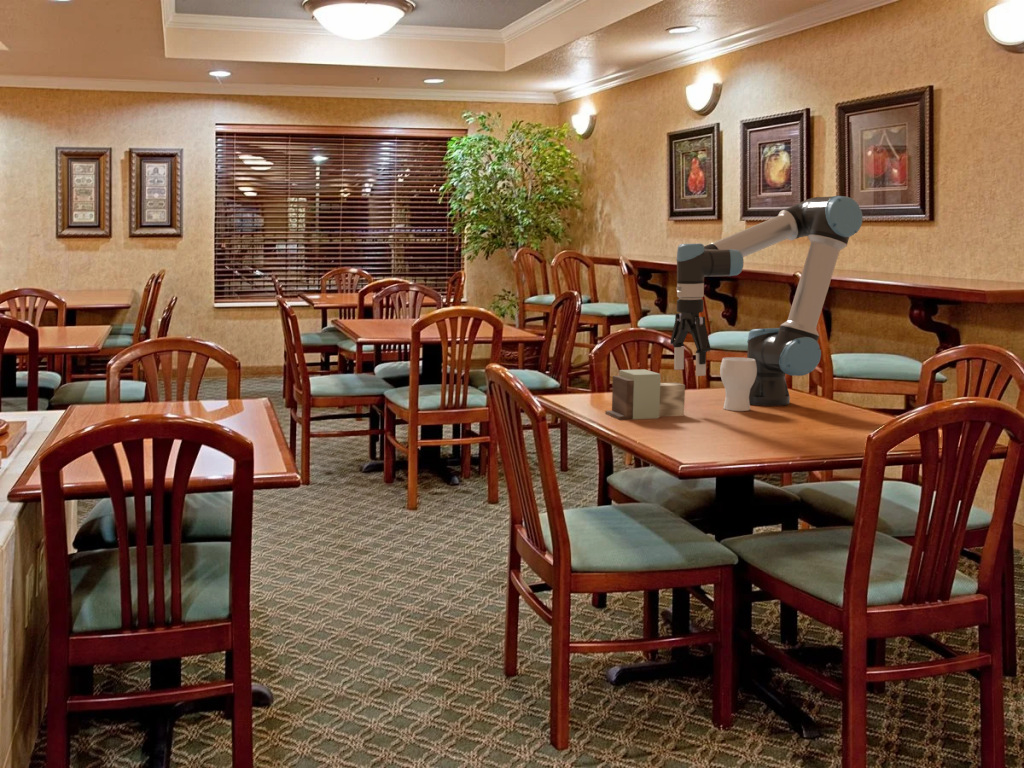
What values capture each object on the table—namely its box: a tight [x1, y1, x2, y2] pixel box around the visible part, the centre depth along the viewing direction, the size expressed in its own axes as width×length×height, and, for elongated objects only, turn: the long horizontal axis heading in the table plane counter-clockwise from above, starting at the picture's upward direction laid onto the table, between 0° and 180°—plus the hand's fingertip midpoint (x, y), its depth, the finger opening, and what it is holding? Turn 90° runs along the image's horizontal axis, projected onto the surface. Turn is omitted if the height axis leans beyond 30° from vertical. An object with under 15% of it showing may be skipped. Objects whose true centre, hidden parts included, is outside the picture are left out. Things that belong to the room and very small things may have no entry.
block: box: [618, 368, 662, 420], centre depth 301 cm, size 8×10×12 cm
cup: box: [719, 356, 757, 412], centre depth 315 cm, size 11×11×15 cm
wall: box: [604, 375, 634, 421], centre depth 299 cm, size 4×10×11 cm, turn 18°
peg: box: [659, 382, 686, 418], centre depth 303 cm, size 14×5×9 cm, turn 108°
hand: (689, 372), depth 305 cm, fingers open, 13 cm apart
